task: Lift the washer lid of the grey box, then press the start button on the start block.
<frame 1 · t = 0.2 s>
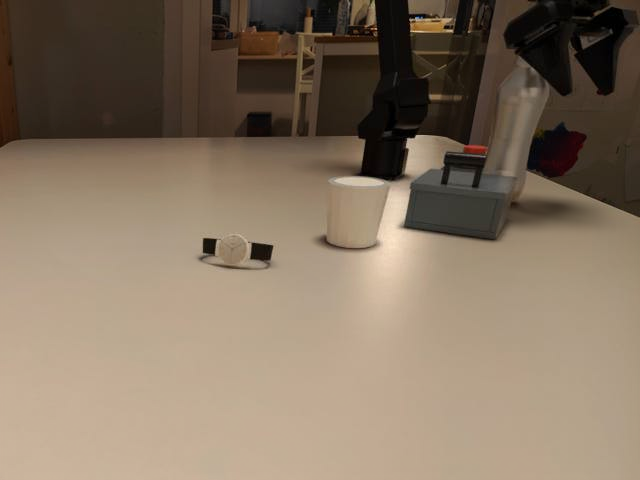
hand: (588, 94, 75), 15 cm above the table, tool tilted 30°, fingers open, 9 cm apart
watch: (236, 262, 67), on the table
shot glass: (350, 242, 73), on the table
grey box: (455, 223, 80), on the table
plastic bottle: (494, 203, 90), on the table
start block: (468, 176, 107), on the table
start button: (474, 152, 105), point 4 cm above the table, slide at 0.1 cm
washer lid: (467, 167, 76), point 7 cm above the table, hinge at 0.0°
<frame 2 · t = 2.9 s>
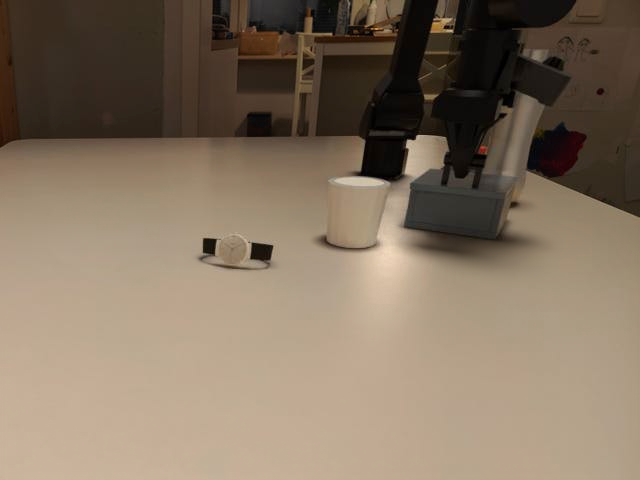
hand: (461, 177, 74), 7 cm above the table, tool pointing down, fingers closed on washer lid
washer lid: (467, 167, 76), point 7 cm above the table, hinge at 0.0°, touching gripper
everything else where it was.
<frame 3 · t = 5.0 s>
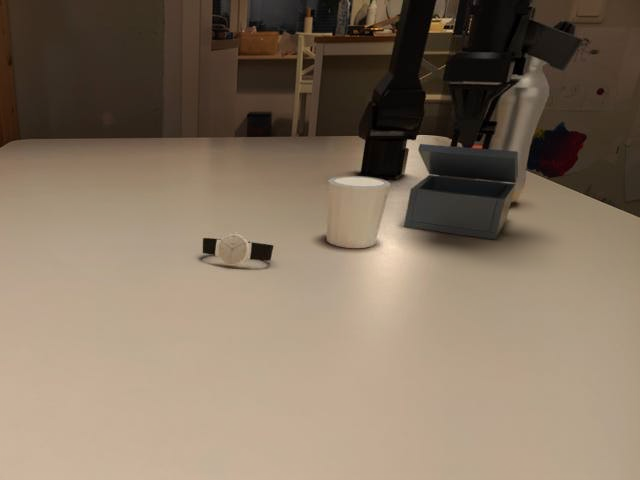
hand: (471, 144, 74), 10 cm above the table, tool pointing down, fingers open, 6 cm apart
washer lid: (473, 148, 76), point 9 cm above the table, hinge at 24.1°, touching gripper
everything else where it was.
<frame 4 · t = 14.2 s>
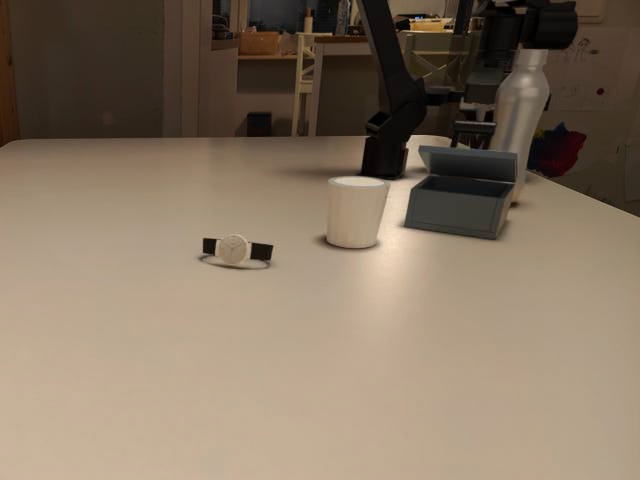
hand: (473, 152, 105), 4 cm above the table, tool pointing down, fingers closed, pressing on start button
start button: (472, 158, 105), point 3 cm above the table, slide at -0.9 cm, touching gripper
washer lid: (473, 149, 76), point 9 cm above the table, hinge at 23.4°
everything else where it was.
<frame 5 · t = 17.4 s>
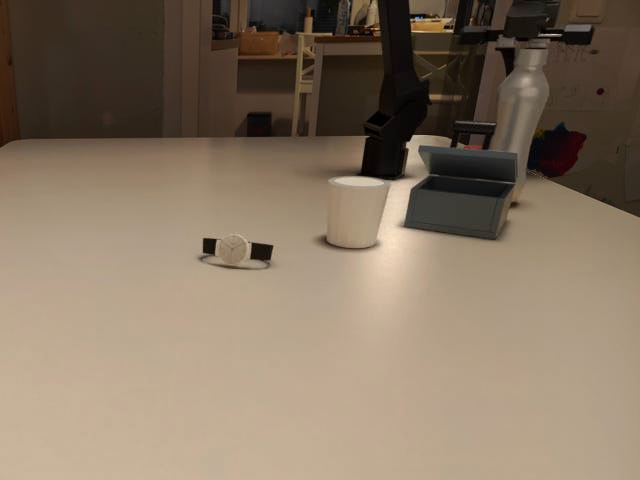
hand: (510, 94, 102), 13 cm above the table, tool pointing down, fingers closed
start button: (474, 152, 105), point 4 cm above the table, slide at 0.1 cm
everything else where it was.
at the end: washer lid at +23° (first picture: +0°); start button pushed in 1.2 cm at the most during the clip, back to where it started at the end; start button slide at 0.1 cm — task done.
